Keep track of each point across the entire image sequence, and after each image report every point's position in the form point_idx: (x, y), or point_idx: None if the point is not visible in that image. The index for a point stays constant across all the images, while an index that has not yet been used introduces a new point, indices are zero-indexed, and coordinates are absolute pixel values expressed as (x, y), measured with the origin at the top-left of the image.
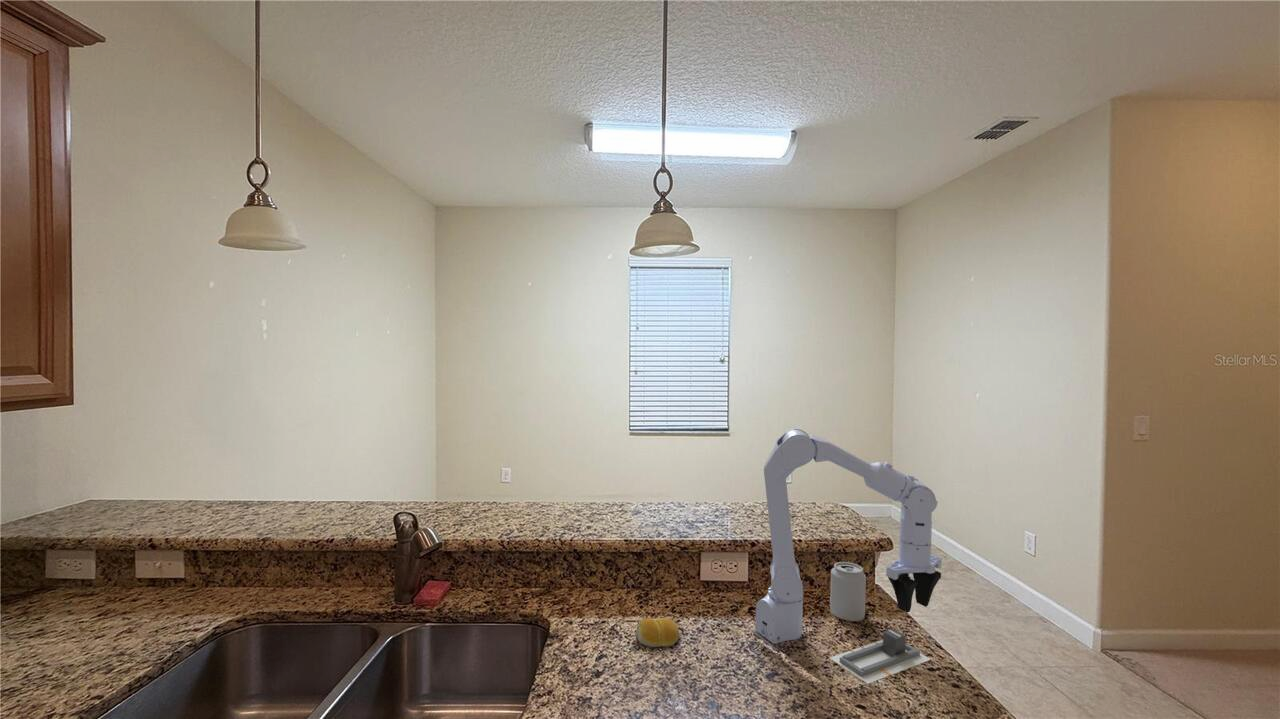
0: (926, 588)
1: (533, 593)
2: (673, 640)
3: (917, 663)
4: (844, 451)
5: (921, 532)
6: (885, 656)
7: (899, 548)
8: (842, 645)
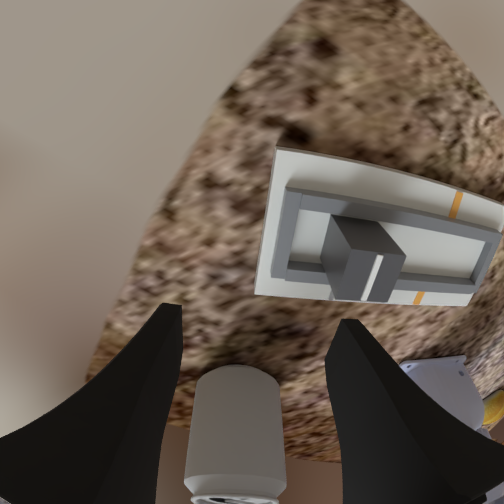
0: (148, 410)
1: None
2: (501, 394)
3: (347, 165)
4: None
5: None
6: None
7: None
8: (374, 329)
